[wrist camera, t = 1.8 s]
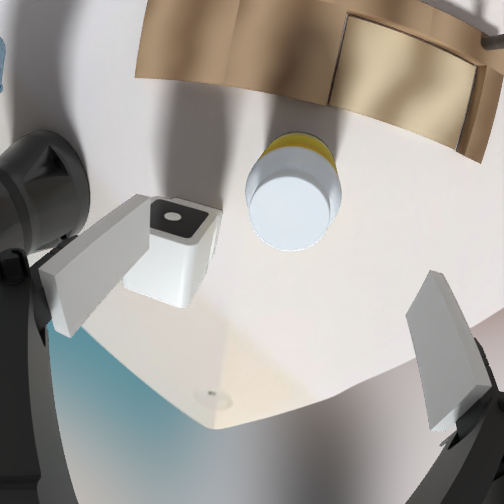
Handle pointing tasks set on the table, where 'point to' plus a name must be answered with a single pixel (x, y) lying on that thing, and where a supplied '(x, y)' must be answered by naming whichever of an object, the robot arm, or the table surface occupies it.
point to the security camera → (175, 251)
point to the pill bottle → (293, 192)
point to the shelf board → (325, 55)
